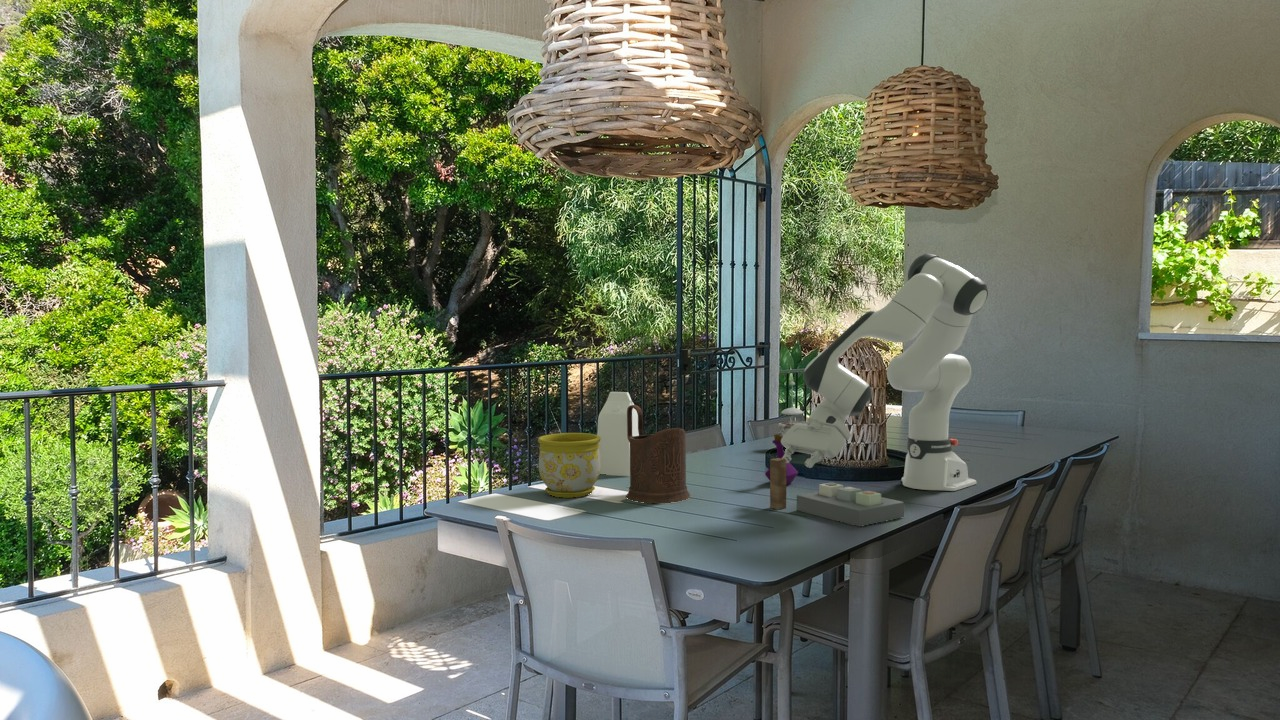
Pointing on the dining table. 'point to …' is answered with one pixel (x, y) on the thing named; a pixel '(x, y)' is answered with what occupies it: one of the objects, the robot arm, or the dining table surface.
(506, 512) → the dining table surface
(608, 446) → the milk
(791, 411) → the french press
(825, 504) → the keypad
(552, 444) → the flowerpot
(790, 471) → the perfume bottle
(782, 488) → the brown wooden bar
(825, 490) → the key
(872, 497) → the key
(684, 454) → the cup holder
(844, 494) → the key mid
